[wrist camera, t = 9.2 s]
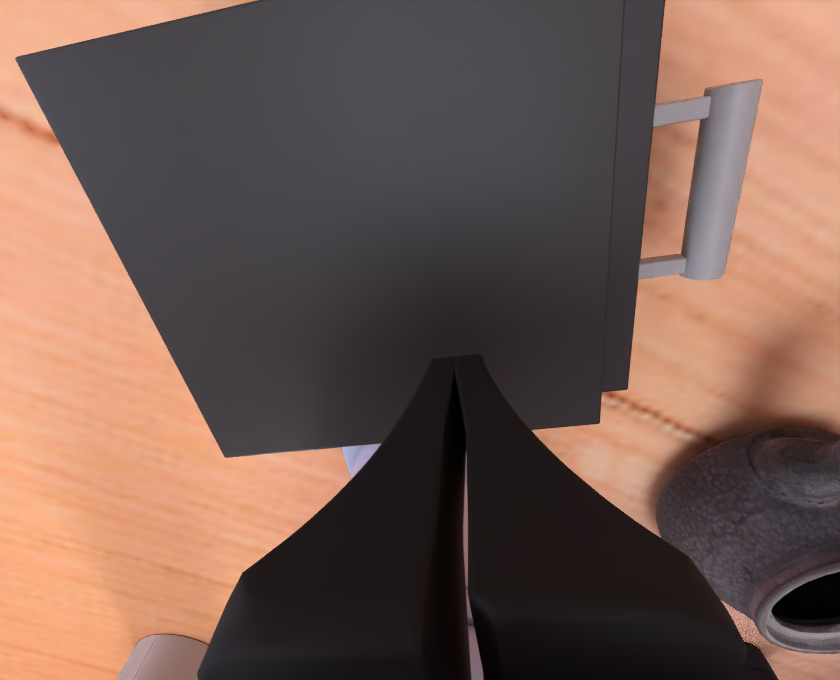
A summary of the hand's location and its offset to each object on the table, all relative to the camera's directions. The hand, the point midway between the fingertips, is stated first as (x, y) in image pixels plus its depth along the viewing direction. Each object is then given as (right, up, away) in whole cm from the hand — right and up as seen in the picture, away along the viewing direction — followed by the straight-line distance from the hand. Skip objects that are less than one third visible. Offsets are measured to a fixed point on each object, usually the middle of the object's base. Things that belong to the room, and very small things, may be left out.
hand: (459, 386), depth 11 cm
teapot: (+20, -5, +14) cm, 25 cm away
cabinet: (-2, +7, +8) cm, 11 cm away
